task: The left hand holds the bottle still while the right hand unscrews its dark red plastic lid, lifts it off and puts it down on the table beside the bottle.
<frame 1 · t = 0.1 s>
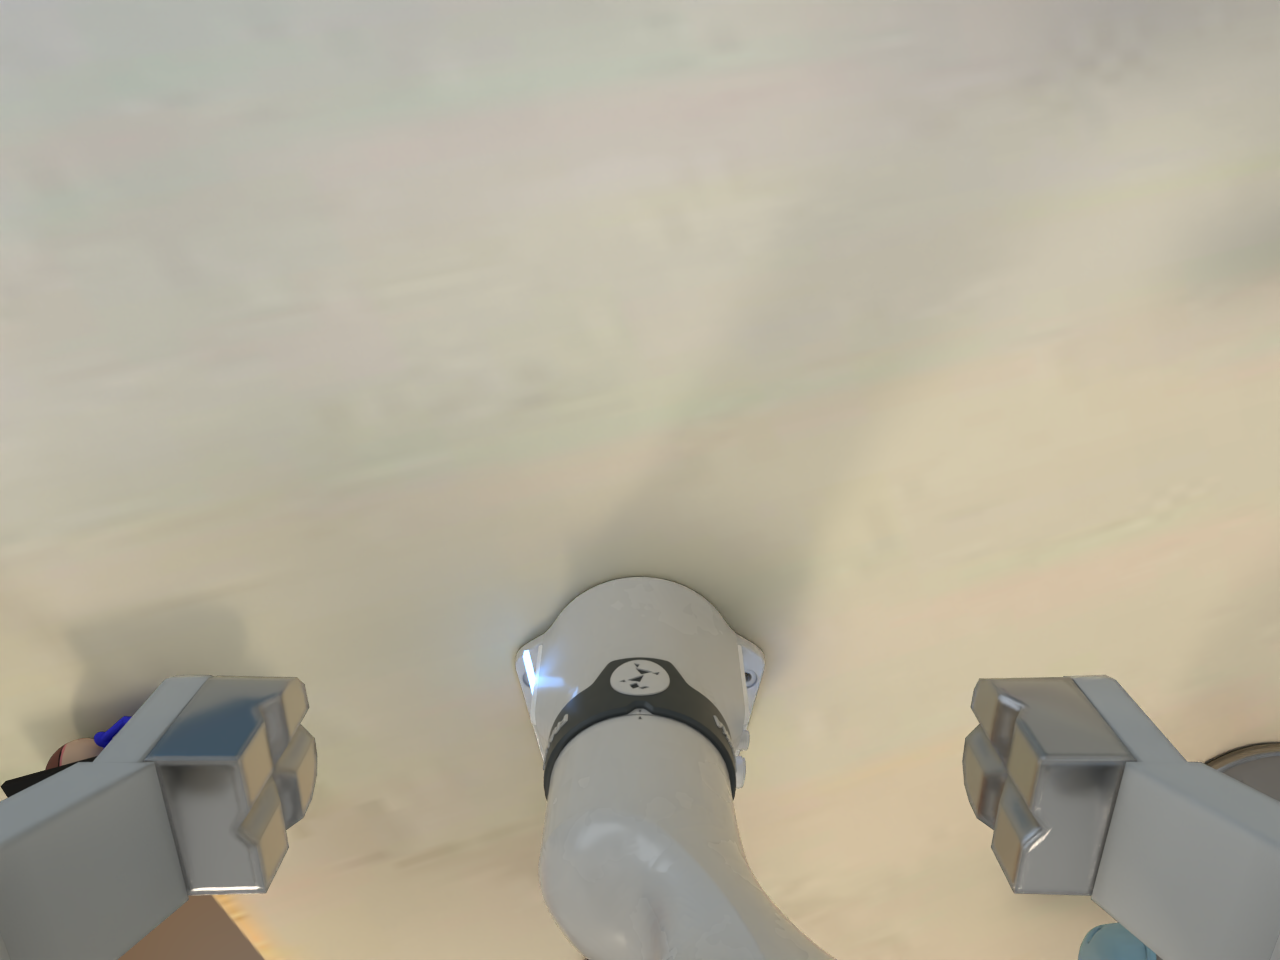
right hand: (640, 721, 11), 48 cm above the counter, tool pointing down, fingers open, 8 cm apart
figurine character: (160, 733, 69), on the counter
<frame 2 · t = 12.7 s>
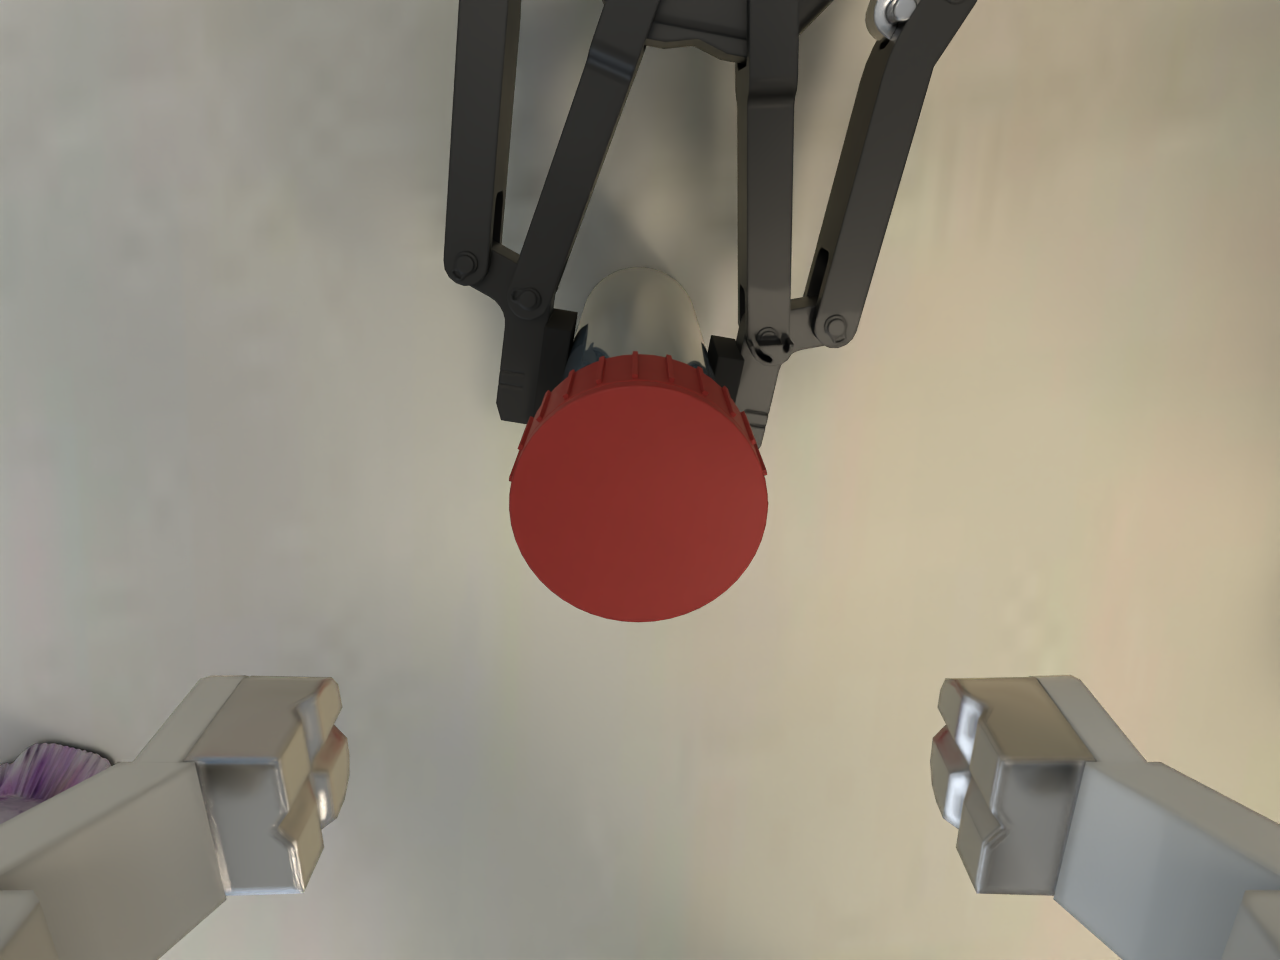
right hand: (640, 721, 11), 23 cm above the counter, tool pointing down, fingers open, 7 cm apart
left hand: (610, 529, 28), fingers closed on bottle, 4 cm apart
bottle: (638, 324, 32), on the counter, touching left hand
figurine: (57, 813, 41), on the counter
lid: (638, 503, 17), point 16 cm above the counter, screwed on, not yet turned
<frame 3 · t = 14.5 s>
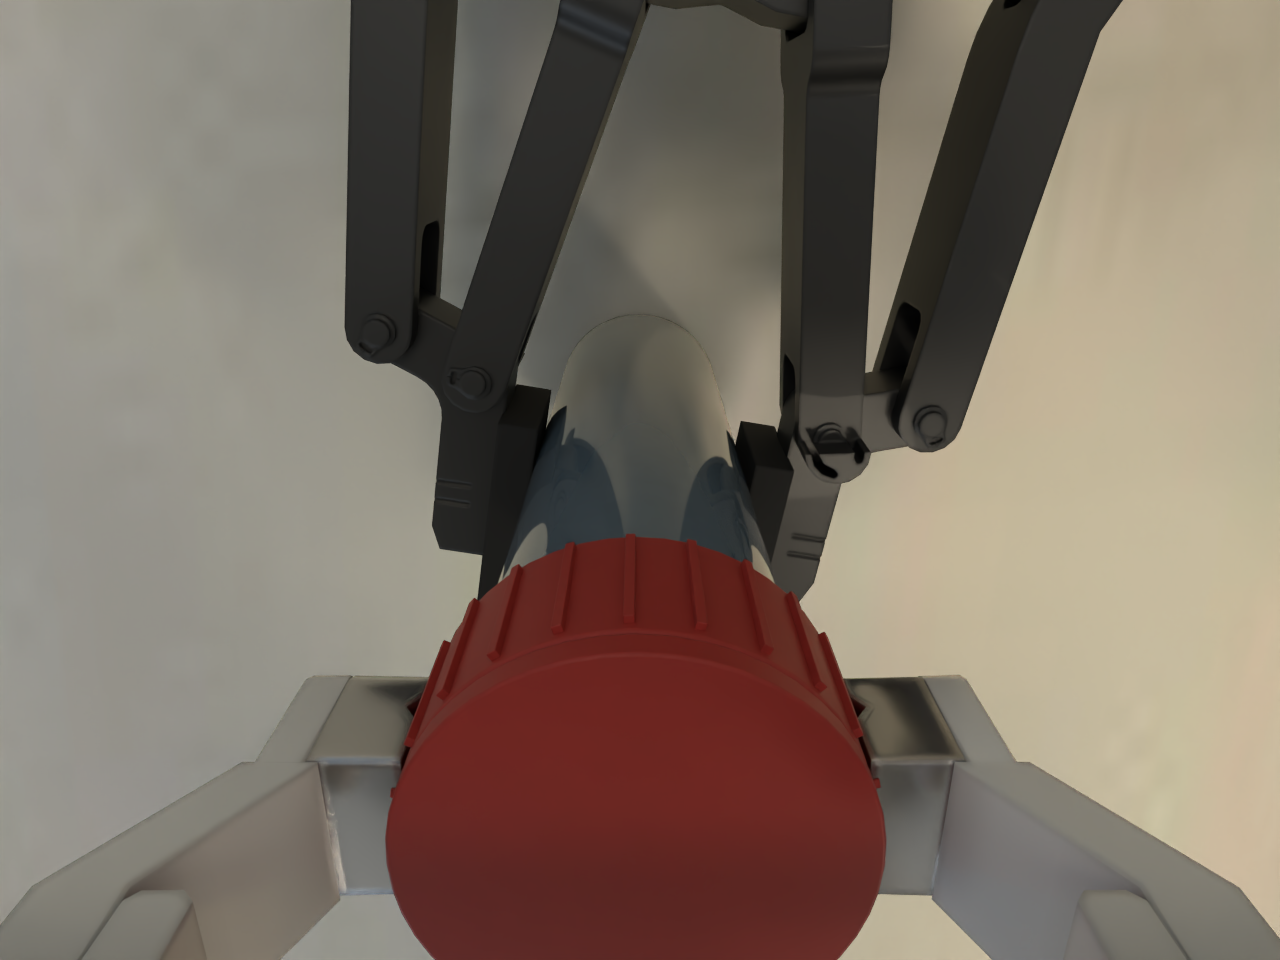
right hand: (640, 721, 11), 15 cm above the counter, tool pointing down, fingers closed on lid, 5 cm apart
left hand: (599, 687, 20), fingers closed on bottle, 4 cm apart
bottle: (638, 389, 24), on the counter, touching left hand
lid: (636, 840, 9), point 16 cm above the counter, screwed on, not yet turned, touching right hand
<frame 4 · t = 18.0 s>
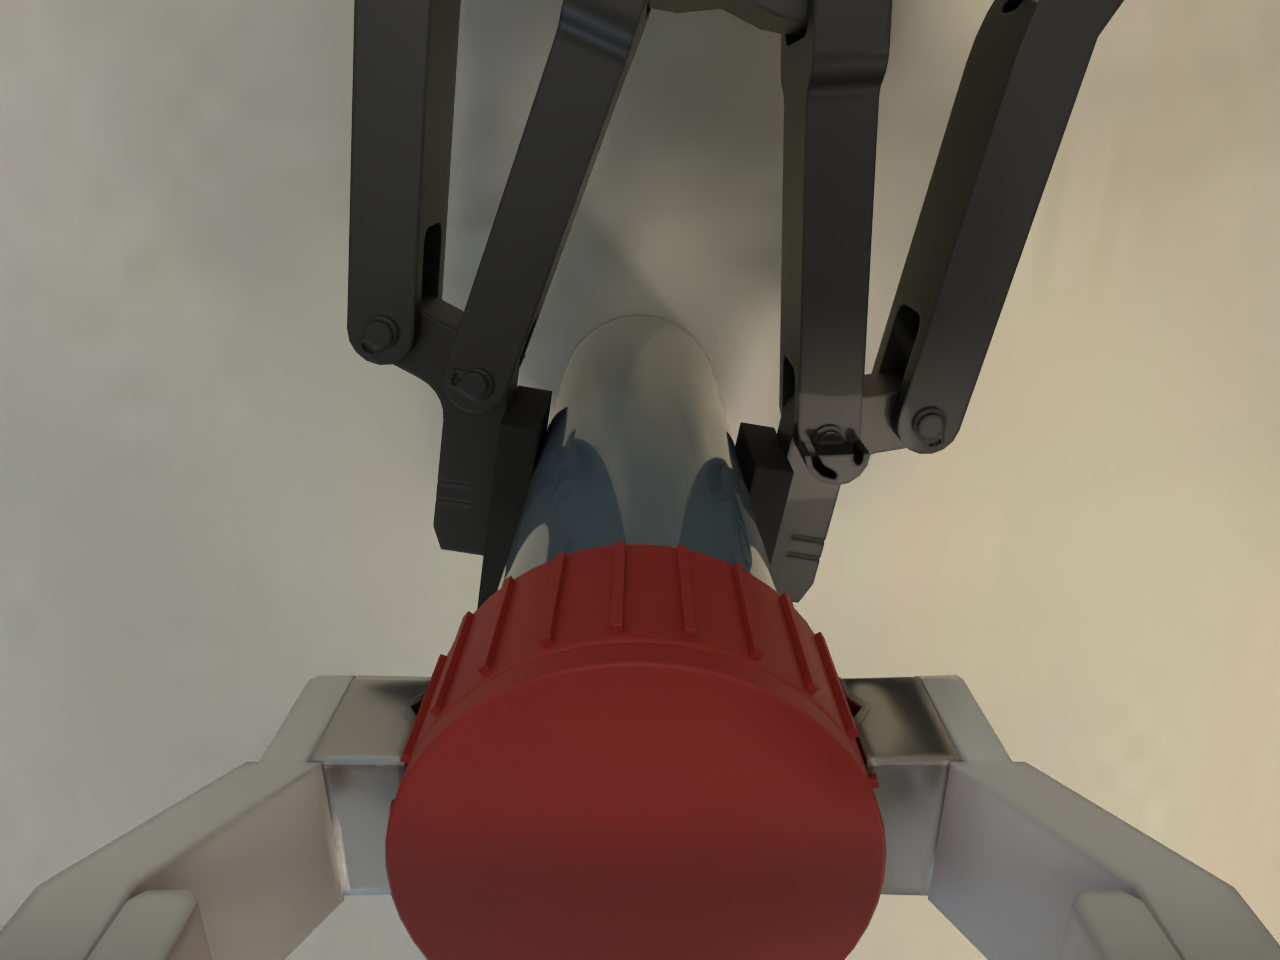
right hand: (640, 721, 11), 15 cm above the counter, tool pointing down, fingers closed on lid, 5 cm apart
left hand: (599, 687, 20), fingers closed on bottle, 4 cm apart
bottle: (639, 390, 24), on the counter, touching left hand
lid: (635, 848, 9), point 17 cm above the counter, turned 97° so far, risen 0.1 cm, still on its thread, touching right hand
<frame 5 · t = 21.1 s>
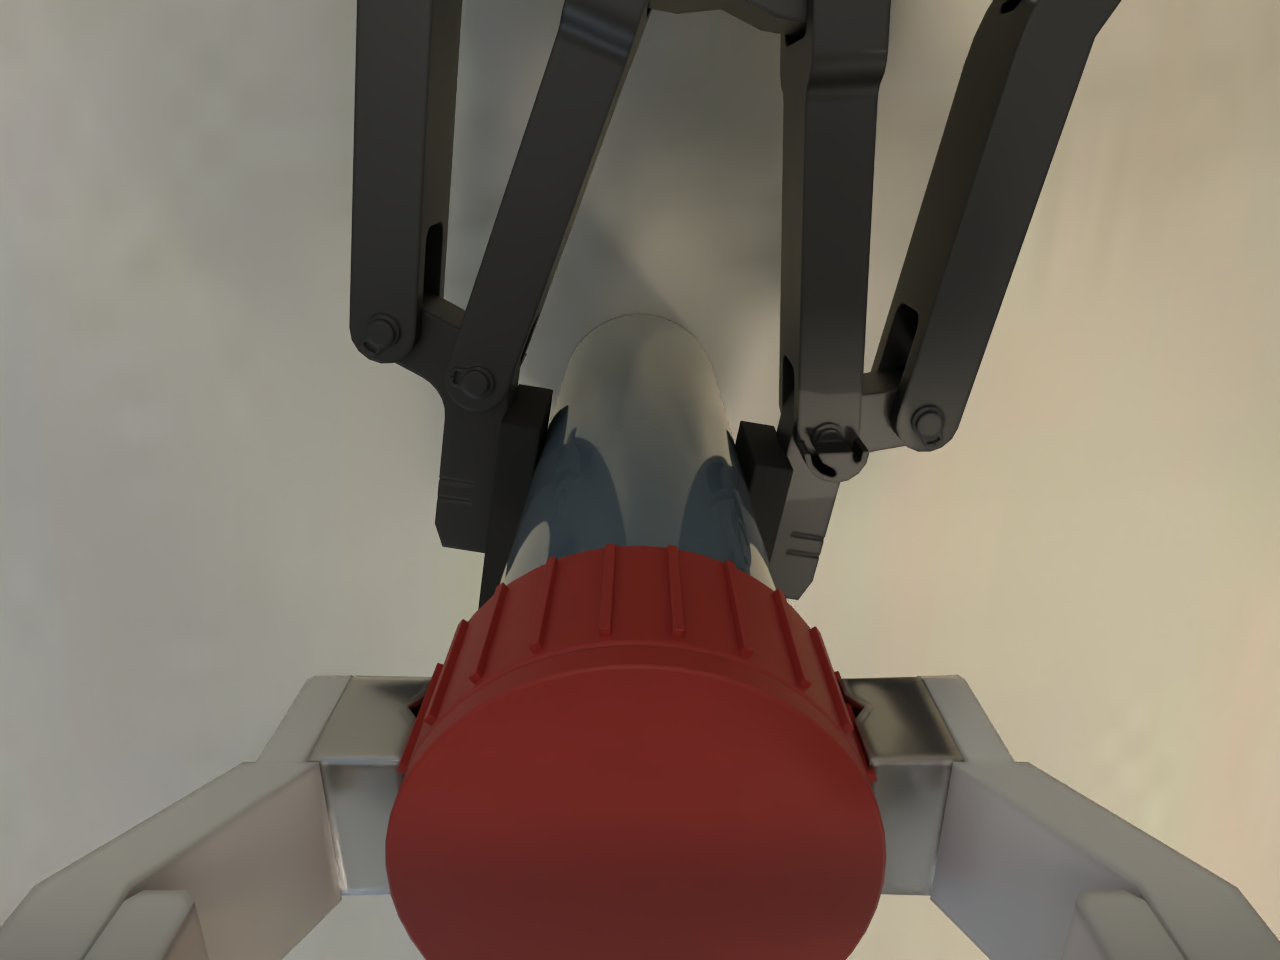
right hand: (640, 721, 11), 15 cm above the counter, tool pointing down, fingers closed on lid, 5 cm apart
left hand: (600, 684, 20), fingers closed on bottle, 4 cm apart
bottle: (639, 389, 24), on the counter, touching left hand
lid: (635, 849, 9), point 17 cm above the counter, turned 193° so far, risen 0.2 cm, still on its thread, touching right hand
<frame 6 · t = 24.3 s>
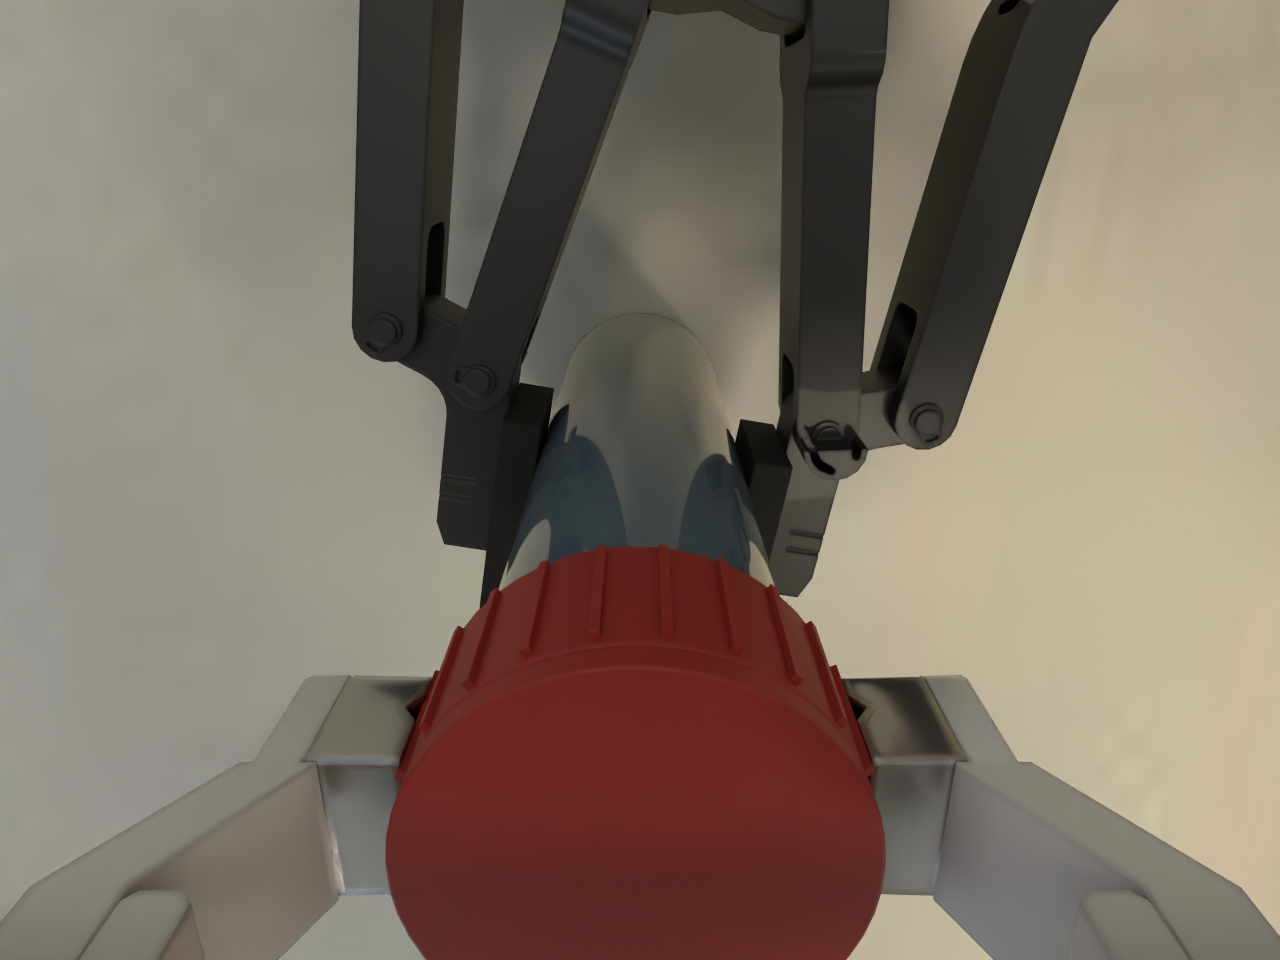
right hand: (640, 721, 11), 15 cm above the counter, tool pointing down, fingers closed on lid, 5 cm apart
left hand: (600, 681, 20), fingers closed on bottle, 4 cm apart
bottle: (640, 387, 24), on the counter, touching left hand
lid: (635, 850, 9), point 17 cm above the counter, turned 289° so far, risen 0.3 cm, still on its thread, touching right hand
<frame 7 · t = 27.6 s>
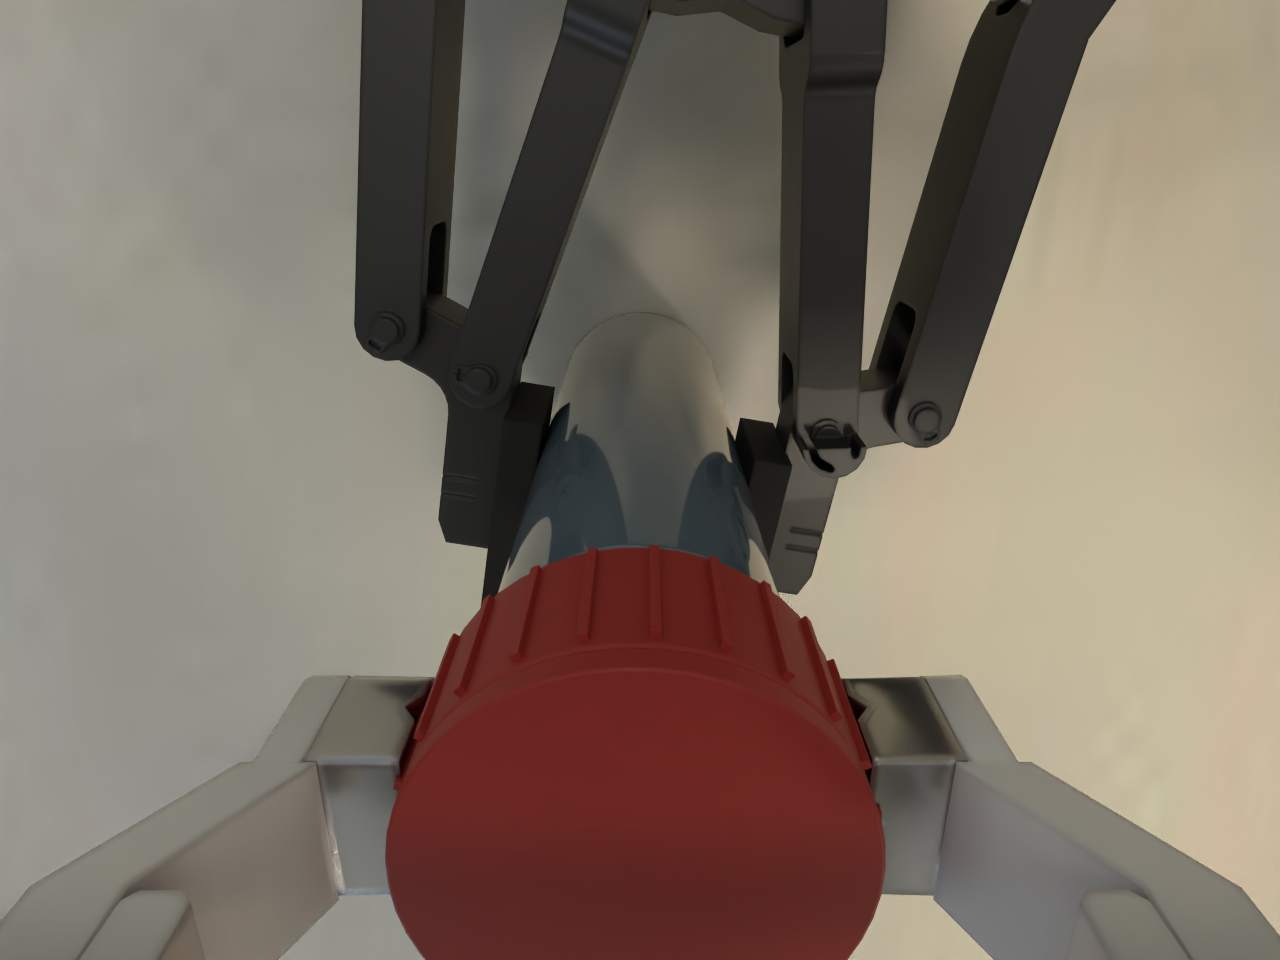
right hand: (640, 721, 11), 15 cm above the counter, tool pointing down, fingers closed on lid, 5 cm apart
left hand: (601, 679, 21), fingers closed on bottle, 4 cm apart
bottle: (640, 386, 25), on the counter, touching left hand
lid: (635, 851, 9), point 17 cm above the counter, turned 385° so far, risen 0.4 cm, still on its thread, touching right hand
when the right hand's fingers open (2 cm above the counter, at t = 34.1 s): lid drops 2 cm, point 2 cm above the counter.
when the left hand's fingers open (6 cm above the counter, at t = 35.0 s): bottle stays where it is, on the counter.
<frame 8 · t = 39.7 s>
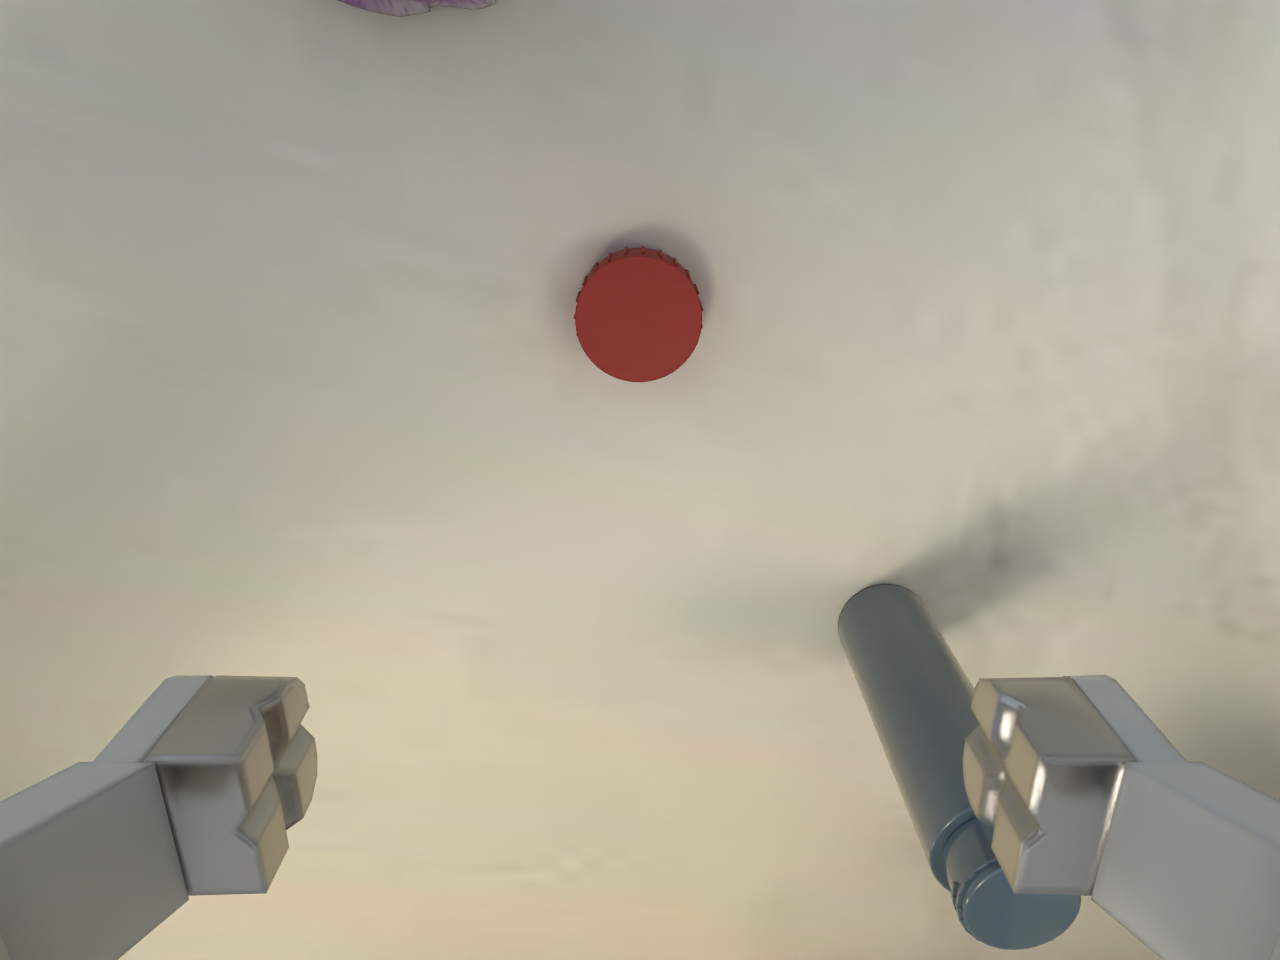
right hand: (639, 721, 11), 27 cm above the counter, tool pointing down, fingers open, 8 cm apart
bottle: (882, 623, 41), on the counter
lid: (638, 318, 34), point 2 cm above the counter, off its thread
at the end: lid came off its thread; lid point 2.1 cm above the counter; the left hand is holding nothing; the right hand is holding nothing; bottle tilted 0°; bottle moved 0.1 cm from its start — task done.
